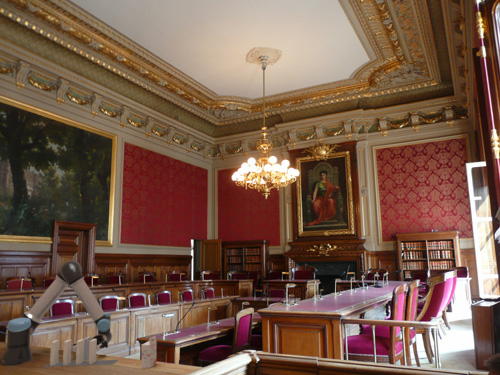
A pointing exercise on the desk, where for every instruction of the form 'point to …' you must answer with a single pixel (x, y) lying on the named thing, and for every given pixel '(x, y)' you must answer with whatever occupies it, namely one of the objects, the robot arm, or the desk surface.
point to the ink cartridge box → (149, 353)
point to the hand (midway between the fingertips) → (85, 348)
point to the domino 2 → (67, 352)
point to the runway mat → (85, 363)
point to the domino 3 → (80, 352)
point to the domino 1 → (54, 352)
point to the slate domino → (86, 348)
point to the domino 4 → (92, 351)
